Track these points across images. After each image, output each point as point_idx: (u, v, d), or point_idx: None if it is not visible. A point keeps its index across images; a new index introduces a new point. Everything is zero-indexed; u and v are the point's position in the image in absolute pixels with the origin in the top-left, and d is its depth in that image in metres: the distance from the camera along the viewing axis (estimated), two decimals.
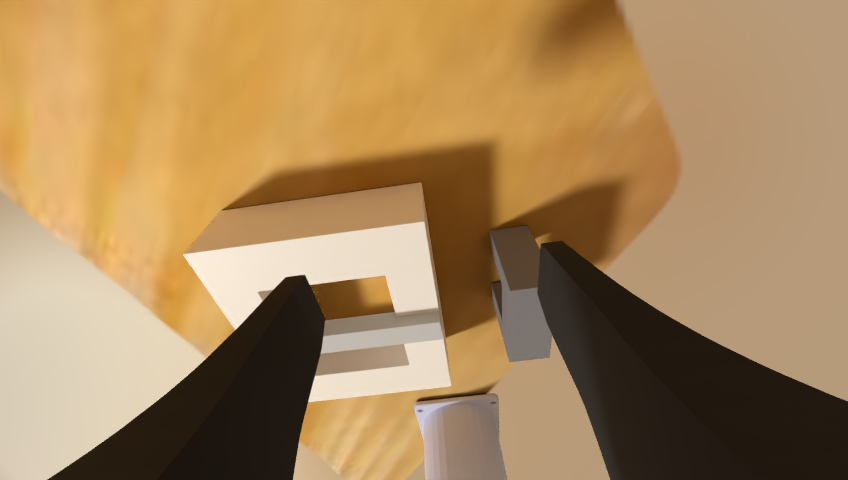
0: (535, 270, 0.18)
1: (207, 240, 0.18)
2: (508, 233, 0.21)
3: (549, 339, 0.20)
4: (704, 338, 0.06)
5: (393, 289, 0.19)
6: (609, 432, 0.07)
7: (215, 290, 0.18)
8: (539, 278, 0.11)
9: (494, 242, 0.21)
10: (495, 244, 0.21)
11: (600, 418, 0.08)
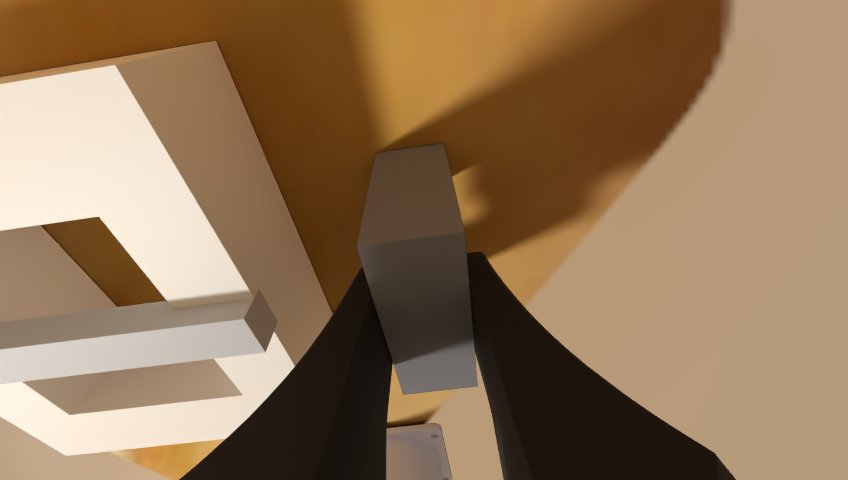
0: (427, 207, 0.09)
1: None
2: (405, 155, 0.12)
3: (470, 353, 0.10)
4: (568, 353, 0.06)
5: (135, 249, 0.09)
6: (500, 443, 0.08)
7: None
8: None
9: (374, 168, 0.11)
10: (374, 171, 0.11)
11: (497, 429, 0.08)
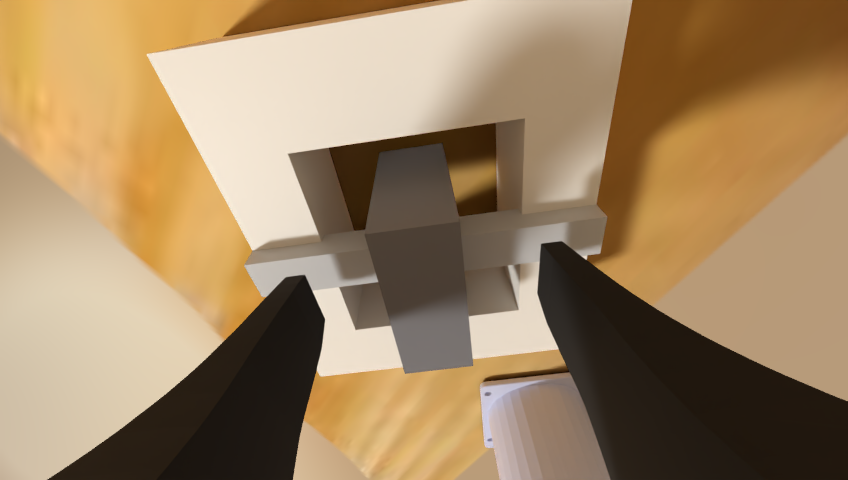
0: (427, 200, 0.10)
1: (195, 44, 0.09)
2: (406, 154, 0.13)
3: (466, 334, 0.11)
4: (704, 338, 0.06)
5: (531, 152, 0.10)
6: (609, 432, 0.07)
7: (212, 149, 0.10)
8: (539, 278, 0.11)
9: (378, 166, 0.12)
10: (378, 168, 0.12)
11: (600, 418, 0.08)
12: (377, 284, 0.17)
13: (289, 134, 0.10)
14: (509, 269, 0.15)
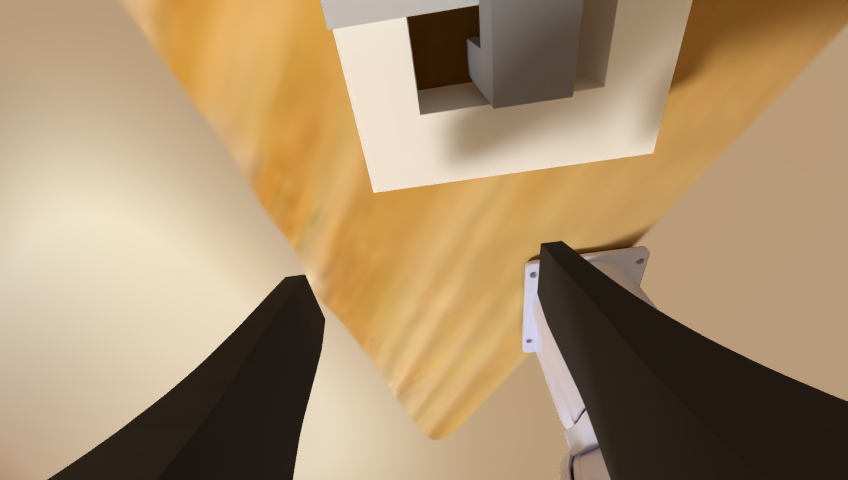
0: None
1: None
2: None
3: (575, 32, 0.09)
4: (704, 338, 0.06)
5: None
6: (609, 432, 0.07)
7: None
8: (539, 278, 0.11)
9: None
10: None
11: (600, 418, 0.08)
12: (435, 95, 0.15)
13: None
14: (588, 56, 0.14)
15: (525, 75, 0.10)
